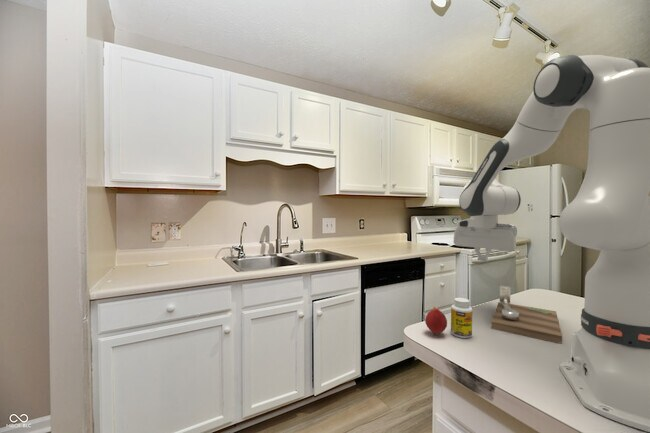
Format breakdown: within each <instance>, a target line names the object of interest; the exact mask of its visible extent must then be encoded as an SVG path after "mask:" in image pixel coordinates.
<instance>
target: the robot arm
mask: <svg viewBox="0 0 650 433" xmlns="http://www.w3.org/2000/svg"><path fill="white" fill-rule="evenodd" d="M577 109H579V110H588V111H589V115H590V116H589V131H588V133H589V135H588V156H587V157H588V158H587V166H586V167H587V168H586V171H585V173H584V174H585V175H584V178H583V181H582V183H581V186H580V188H579V190H578V192H577V194H576V195H575V197H574V198H573V200H572V201H571V202H570V203H569V204H567V205H566V206H565V207H564V208H563V210H562V211H561V213H560V215H559V219H558V220H559V222H558V223H559V224H558V225H559V230H560V231H561V234H562V235H563V236H564V237H565V239H566V240H567V241H569V242H570V243H572V244H573V245H576V246H579V247H583V248H587V249H591V250H595V251H600V252H599V254H598V258H597V260H596V261H595V263H594V264H593V265H592V266H591V267H590V268H589V269H588V270H587V272H586V274H585V276H584V305H583V306H584V308H582V309H581V314H580V326H581V328H580V329H579V330H577V331H575V332H574V333H572V334H571V343H570V356H569V357H570V360H569V362H560V363H559V370H560V371H561V373H562V375H563V376H564V377H565V379H566V381H567V382H568V384H569V385H570V387H571V389H572V390H573V392H574V394H576V397H577V398H578V400H579V401H580V402H581V404H582V405H583V406H584V407H585V408H587V409H588V410H590V411H592V412H594V413H596V414H598V415H600V416H603V417H605V418H607V419H610V420H613V421H614V422H615V421H616V422H618V423H620V424H623V425H626V426H629V427H632V428H635V429H639V430H642V431H645V432H648V433H650V195H649V193H650V67H649V65H648V64H646V63H645V62H644V61H641V60H640V59H636V58H632V57H617V56H611V55H610V56H608V55H604V54H586V55H585V54H584V55H574V54H570V55H569V54H568V55H563V56H559V57H556V58H553V59H550V60H549V61H547V63H545V64H544V65H543V66H542V68H541V69H540V70H539V71H538V73H537V74H536V77H535V79H534V82H533V89H532V92H531V94H530V95H529V97H528V98H527V99H526V101H525V103H524V105H523V106H522V108H521V110H520V112H519V114H518V116H517V118H516V121H515V122H514V124H513V126H512V127H511V128H510V130H509V131H508V132H507V133H506V135H505V136H504V137H502V138H501V139H500V140H498V141H497V142H495V143H494V144H493V146H491V148H490V150H489V151H488V153H487V154H486V156H485V157H484V159H483V160H482V162H481V164H480V166H479V168H478V169H477V170H476V172H475V174H474V175H473V177H472V179H471V180H470V182H469V183H468V185H466V187H465V188H464V189H463V190H462V191H461V194H460V195H459V199H458V200H459V201H458V202H459V204H458V205H459V208H460V209H461V210H462V211H463V212H464V213H465V214H466V215H468V216H470V217H469V218H464V219H463V220H458V221H457V222H456V228H455V230H454V233H453V244H454V245H455V246H457V247H467V248H474V252H475V254H476V255H477V261H483V262H488V261H489V259H488V258H489V255H490V254H491V252H492V251H493V250H494V251H495V250H496V251H506V252H513V251H514V250H516V248H517V240H516V237H517V235H518V229H517V227H516V226H515V225H513V224H511V223H498V222H499V216H503V215H504V216H506V215H512V214H514V213H515V212H518V209H519V208H520V206H521V201H522V199H521V198H522V197H521V194H520V192H519V191H518V189H517V188H515V187H512V186H509V185H505V184H502V183H500V181H498V179H497V176H498V175H499V174H500V172H501V171H502V170H503V169H505V167H507V166H509V165H511V164H512V163H515V162H517V161H518V162H519V161H522V160H524V159H528V158H533V157H535V156H538V155H540V154H543V153H544V152H546V151H548V150H549V149H550V148H551V147H552V145H553V144H554V143H555V142H556V141H557V139H558V137H559V135H560V133H561V131H562V130H563V129H564V126H565V124H566V122H567V120H568V118H569V117H570V115H571V114H572V113H573V112H574V111H576V110H577ZM481 249H485V252H486V253H485V254H482V253H481V252H480V251H481Z"/></svg>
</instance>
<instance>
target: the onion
mask: <svg viewBox="0 0 650 433" xmlns="http://www.w3.org/2000/svg"><path fill="white" fill-rule="evenodd" d="M424 322H425V325H426V327H427V328H428V330H430V331H431V332H432V333H433V335H438V334H439V335H440V334H441V333H443V332H444V331H445V330H446V328H447V327H448V320H447V317H446V315H445V314H444V313H443V312H442V311H441V310H440V309H439V308H438V307H437V306H433V309H432V310H431V309H430V311H428V312H427V314H426V315H425V319H424Z"/></svg>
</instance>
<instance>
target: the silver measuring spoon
mask: <svg viewBox="0 0 650 433" xmlns="http://www.w3.org/2000/svg"><path fill="white" fill-rule="evenodd" d="M511 289H512V288H511V287H510V286H507V285H500V286H499V302H502V305H503V307H504V309H503V310H502V317H504V318H506V319H510V320H518V319H519V312H517V311H515V310H511V308H510V306H509V304H511V293H512V292H511ZM508 303H509V304H508Z"/></svg>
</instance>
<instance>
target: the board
mask: <svg viewBox="0 0 650 433" xmlns="http://www.w3.org/2000/svg"><path fill="white" fill-rule="evenodd" d="M508 304H509V306H510V308H511V310H515V311H517V312H519V319H518V320H510V319H506V318H504V317H502V310H503V309H504V307H503V305H502V302H500V301H498V303H497V305H496V308H495V311H494V312H493V315H492V320H491V324H490V329H492V330H497V331H502V332H507V333H511V334H515V335H520V336H525V337H530V338H532V339H533V338H534V339H539V340H543V341H547V342H553V343H556V344H562V342H563V334H562V330H561V327H560V322H559V319H558V314H557V311H556V310H555V311H554V310H549V309H546V308H538V307H532V306H526V305H519V304H513V303H508Z"/></svg>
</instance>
